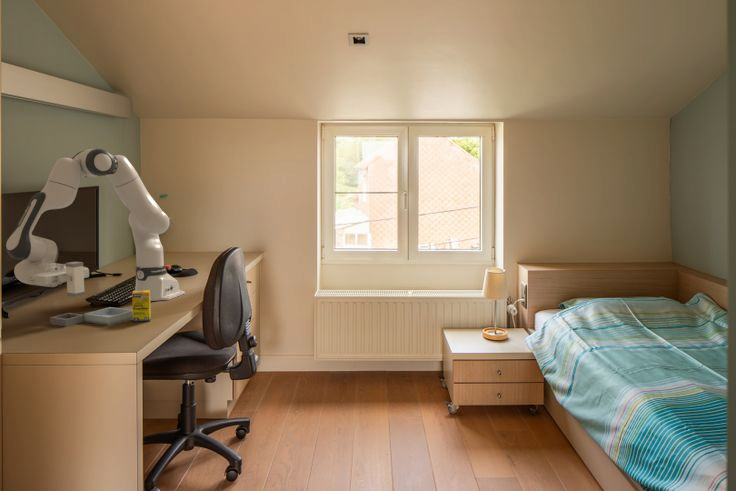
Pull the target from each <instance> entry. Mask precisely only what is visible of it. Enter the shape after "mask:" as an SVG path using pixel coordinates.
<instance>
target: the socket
mask: <svg viewBox="0 0 736 491" xmlns="http://www.w3.org/2000/svg"><path fill="white" fill-rule="evenodd" d="M49 319H50V325H52V326H58V327H65V328H67V327H71V326H74V325H78V324H83V323H86V322H85V319H84V314H80V313H74V312H67V313H63V314H58V315H55V316H50V317H49Z"/></svg>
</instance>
